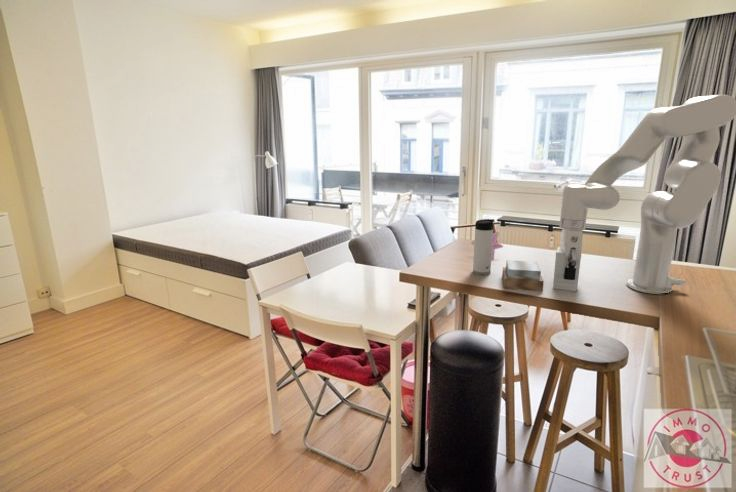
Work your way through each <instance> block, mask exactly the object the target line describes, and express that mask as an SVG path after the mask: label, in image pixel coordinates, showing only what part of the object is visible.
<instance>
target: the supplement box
mask: <svg viewBox="0 0 736 492" xmlns="http://www.w3.org/2000/svg"><path fill="white" fill-rule="evenodd" d="M568 258H571V253H570V254H569V256H568ZM569 262H570V261H569ZM565 267H566V260H565V259H564V252H563V251H562V250H561V248H560V246H558V247H557V248H556V251H555V262H554V270H553V271H554V272H553V273H554V274H553V285H552V288H553V289H557V290H565V291H571V292H577V291H578V286H579V285H578V284H579V277H580V268H581V260H577V261H576V273H575V280H567V279H564V271H565Z"/></svg>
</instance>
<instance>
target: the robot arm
mask: <svg viewBox="0 0 736 492" xmlns="http://www.w3.org/2000/svg"><path fill="white" fill-rule="evenodd" d="M735 117H736V99H735V98H734V97H733V96H731V95H729V94H710V95H702V96H701V95H700V96H693V97H692V98H688V100H686V101H685V102H683V104H682V105H677V106H667V107H666V106H665V107H663V106H662V107H657V108H654V109H651V110H650V111H649V112H647V114H646V115H645V116H643V119H642V120H641V121H640V122H639V123H638V124H637V126H636V127H635V128H634V130H633V131H632V132H631V134H630V135H629V137H628V138H627V139H626V140H625V141H624V143H623V144H622V145H621V147H620V148H619V149H618V150H617V151H616V152H614V153H613V154H612V155H610V156H609V157H608V158H607V159H606V160H605V161H604V162H602V163H601V164H600V165H599V166H598V167H597V168H596V169H595V170H594V171H593V172H592V173H591V175H590V176H589V178H588V179H587V180H586V181H585V183H584V184H571V183H570V184H567V185H565V186H564V188H563V190H562V201H561V207H560V208H561V209H560V218H559V228H560V229H561V236H560V244H559V245H560V246H559V247H560V248H561V250H562V251H563V252H564V259H565V260H566V267H565V271H564V279H567V280H575V273H576V261H577V260H581V258H582V252H583V250H582V249H583V231H584V230H586V225H587V217H588V216H587V215H588V210H589V209H594V210H600V211H607V210H611V209H613V208H615V207H616V206H617V205H618V204H619V202H620V197H621V195H620V193H619V191H618V190H617V188H615V187H613V186H612V185H613V184H614V183H615V182H616V181H617V180H618V179H619V178H621V177H622V176H623V175H625V174H627V173H629V172H632V171H634V170H637V169H639V168H641V167H643V166H644V165H646V164H647V163H648V162H649V160H650V159H651V158H652V157H653V155H654V154H655V153H656V151H657V150H658V149H659V148H660V147H661V145H662V144H663V143H664V142H665V141H666V139H673V138H674V139H675V138H681V137H684V140H683V142H682V144H681V146H680V148H679V150H678V151H677V152H676V155H675V156H674V158H673V159H672V160H671V163H670V165H668V167H667V169H666V172H665V173H664V177H663V180H664V182H665V184H666V185H667V187H669V188H671V189H674V190H675V192H670V191H666V190H665V191H664V190H658V191H654V192H650V193H649V194H648V195H647V196H646V197H645V198H644V199H643V200H642V203H641V207H640V221H641V222H640V233H639V239H638V245H637V251H636V257H635V258H636V259H635V265H634V271H633V275H632V278H629V279H627V281H626V285H627V287H629V288H630V289H632V290H634V291H637V292H640V293H641V292H642V293H644V294H651V295H652V294H653V295H661V294H660V293H668V294H670V293H672V292H673V287H674V285H675V286H681V287H682V286H684V287H685V286H686V280H685V279H678V277H671V276H670V271H671V265H672V259H673V254H674V249H675V245H676V239H677V237H676V236H677V229H685V228H688V227H690V226H692V224H694V223H695V222H696V221H697V220H698V219H699V217H700V216H701V215H702V213H703V211H704V210H705V209H706V207H707V205H708V204H709V202H710V201H711V199H712V198H713V196H714V195H715V193H716V192H717V190H718V188H719V186H720V183H721V179H722V173H721V169H720V168H719V166H718V165H717V164H715V163H713V162H711V160H712V159H713V157H714V155H715V153H716V151H717V149H718V147H719V145H720V140H721V136H720V130H719V128H720V127H723V126H725V125H727V124H728V123H730V122H732V121H733V120H734V118H735ZM570 253H571V258H568V256H569V254H570ZM569 261H570V262H569ZM671 291H672V292H671ZM669 292H670V293H669Z"/></svg>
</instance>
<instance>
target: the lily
mask: <svg viewBox="0 0 736 492" xmlns="http://www.w3.org/2000/svg"><path fill="white" fill-rule="evenodd" d="M499 236H500V231H495V232H493V239H492V255H491V260H493V259H495V253H496V252H495V250H497V249H502V248H503V247H504V245H503V244H501V243H499V242H497V241H498V238H499ZM470 244H471V245H473V246H474V240H472V241H471V242H470Z"/></svg>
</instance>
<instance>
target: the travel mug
mask: <svg viewBox="0 0 736 492" xmlns="http://www.w3.org/2000/svg"><path fill="white" fill-rule="evenodd" d="M495 221H496V220H495V219H494V218H492V219H491V218H490V219H489V218H484V219H478V220H476V221H475V228H474V240H473V241H474V245H473V259H472V261H473V262H472V263H473V264H472V265H473V266H472V273H474V274H475V275H478V276H488V275H490V274H491V267H492V259H491V255H492V239H493V233H494V223H496V222H495Z"/></svg>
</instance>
